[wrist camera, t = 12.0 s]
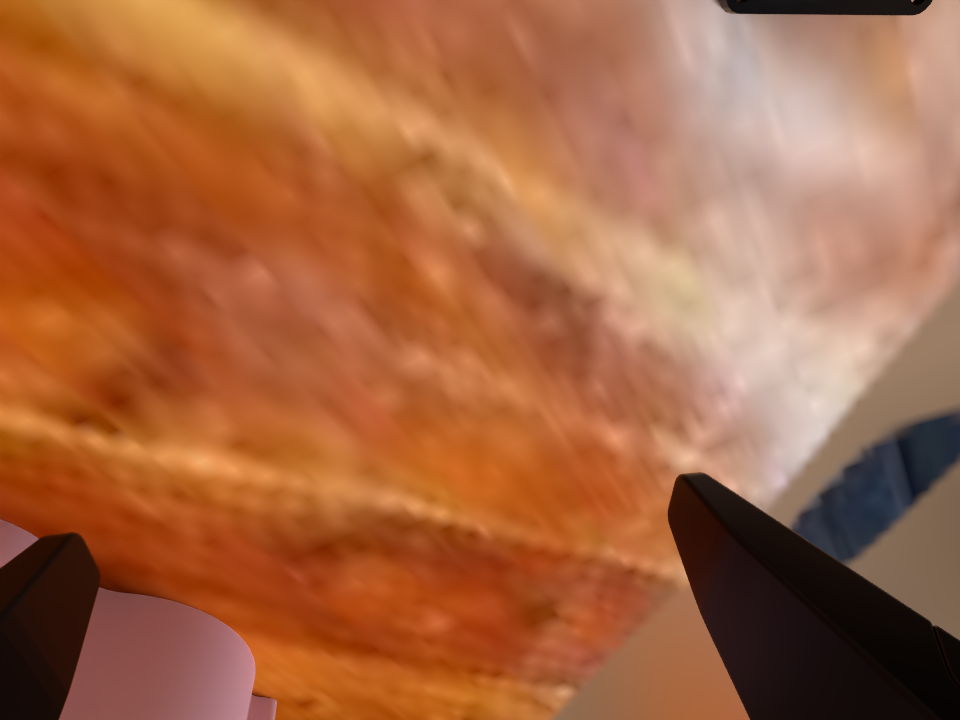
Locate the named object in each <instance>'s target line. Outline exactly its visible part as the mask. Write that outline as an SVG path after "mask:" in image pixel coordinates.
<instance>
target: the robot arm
mask: <svg viewBox="0 0 960 720" xmlns="http://www.w3.org/2000/svg"><path fill="white" fill-rule="evenodd" d="M719 2H720V5H721V8H722V9H723V10H724V11H725V12H728V13H731V14H821V15H916V14H920V13H921V12H923V11H924V10H926V8H927V7H928V6H929V5H930V4H931V2H932V0H914V1H913V2H911V0H740V1H739V2H737V1H736V0H719ZM668 521H669V525H670V528H671V531H672V534H673V537H674V540H675V543H676V545H677V548H678V551H679V554H680V557H681V560H682V563H683V566H684V568H685V571H686V574H687V577H688V580H689V583H690V586H691V589H692V591H693V594H694V597H695V600H696V603H697V605H698V608H699V610H700V613H701V615H702V618H703V620H704V622H705V624H706V627H707V629H708V631H709V633H710V635H711V637H712V639H713V642H714V644H715V646H716V648H717V650H718V652H719V654H720V657H721V658H722V661H723V663H724V665H725V667H726V669H727V671H728V674H729V676H730V678H731V680H732V682H733V684H734V686H735V688H736V691H737V693H738V695H739V697H740V699H741V701H742V703H743V705H744V708H745V710H746V712H747V714H748V716H749V718H750V720H960V640H958V639H957V638H955V637H953V636H952V635H951V634H949V633H948V632H946V631H945V630H943V629H942V628H940V627H938V626H936V625H935V626H932V623H931V622H930V621H929V620H928V619H926V618H925V617H923V616H922V615H920V614H919V613H917V612H915V611H914V610H912V609H911V608H909V607H908V606H906V605H905V604H903V603H902V602H900V601H899V600H897V599H896V598H894V597H892V596H891V595H890V594H888V593H887V592H885V591H884V590H882V589H881V588H879V587H877V586H876V585H874V584H873V583H871V582H870V581H868V580H867V579H865V578H864V577H862V576H861V575H859V574H858V573H856V572H855V571H853V570H852V569H850V568H849V567H847V566H846V565H844V564H843V563H841V562H839V561H838V560H836V559H835V558H833V557H832V556H830V555H829V554H827V553H826V552H824V551H823V550H821V549H820V548H818V547H817V546H815V545H814V544H812V543H811V542H809V541H808V540H806V539H805V538H803V537H801V536H800V535H798V534H797V533H795V532H794V531H792V530H791V529H789V528H788V527H786V526H785V525H783V524H782V523H780V522H779V521H777V520H776V519H774V518H773V517H771V516H770V515H768V514H767V513H765V512H763V511H762V510H760V509H759V508H757V507H756V506H754V505H753V504H751V503H750V502H748V501H747V500H745V499H744V498H742V497H741V496H739V495H738V494H736V493H735V492H733V491H732V490H730V489H729V488H727V487H725V486H724V485H722V484H721V483H719V482H718V481H716V480H715V479H713V478H712V477H710V476H709V475H707V474H705V473H701V472H698V473H687V474H681V475H679V476H678V477H677V478H676V480H675V484H674V488H673V492H672V496H671V500H670V504H669V508H668ZM99 585H100V571H99V568H98V566H97V564H96V562H95V560H94V558H93V556H92V554H91V552H90V550H89V548H88V546H87V545H86V543H85V541H84V539H83V537H82V536H81V535H80V534H78V533H74V532H69V533H59V534H49V535H46V536H43V537H41V538H40V539H38V540H37V541H36V542H34V543H33V544H32V545H30V546H29V547H28V548H26V549H25V550H24V551H22V552H21V553H20V554H18V555H17V556H16V557H14V558H13V559H12V560H10V561H9V562H8V563H6V564H5V565H4V566H2V567H1V568H0V720H59V718H60V716H61V713H62V710H63V708H64V705H65V702H66V700H67V697H68V694H69V691H70V688H71V685H72V682H73V678H74V675H75V672H76V668H77V664H78V661H79V657H80V654H81V650H82V647H83V643H84V639H85V636H86V632H87V629H88V625H89V622H90V618H91V614H92V611H93V607H94V604H95V600H96V596H97V593H98V589H99Z"/></svg>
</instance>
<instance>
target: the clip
mask: <svg viewBox="0 0 960 720" xmlns="http://www.w3.org/2000/svg"><path fill="white" fill-rule="evenodd" d="M37 540H38V538H37V537H36V536H34V535H32V534H31V533H29V532H27V531H25V530H24V529H22V528H20V527H18V526H16V525H13V524H11V523H9V522H6V521H4V520H1V519H0V568H1V567H2V566H4V565H5V564H6V563H8V562H9V561H10V560H12V559H13V558H14V557H16V556H17V555H18V554H20V553H21V552H22V551H24V550H25V549H26V548H28V547H29V546H30V545H32V544H33V543H34V542H36V541H37ZM255 672H256V669H255V661H254V658H253V655H252V653H251V651H250V649H249V647H248V646H247V644H246V643H245V642H244V640H243V639H242V638H241V637H240V636H239V635H238V634H237V633H236V632H235V631H234V630H233V629H231V628H230V627H229V626H227V625H226V624H225V623H223V622H221V621H220V620H218V619H217V618H215V617H213V616H211V615H209V614H207V613H205V612H203V611H201V610H198V609H196V608H193V607H190V606H188V605H185V604H182V603H178V602H175V601H171V600H167V599H163V598H158V597H153V596H147V595H140V594H130V593H121V592H115V591H111V590H107V589H104V588H101V587H99V589H98V593H97V596H96V600H95V604H94V607H93V611H92V614H91V618H90V622H89V625H88V629H87V632H86V636H85V639H84V643H83V647H82V650H81V654H80V657H79V661H78V664H77V668H76V672H75V675H74V678H73V682H72V685H71V688H70V691H69V694H68V697H67V700H66V702H65V705H64V708H63V710H62V713H61V716H60V718H59V720H274V718H275V712H276V706H277V701H276V700H275V699H272V698H267V697H258V696H254V695H252V689H253V684H254V679H255Z"/></svg>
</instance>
